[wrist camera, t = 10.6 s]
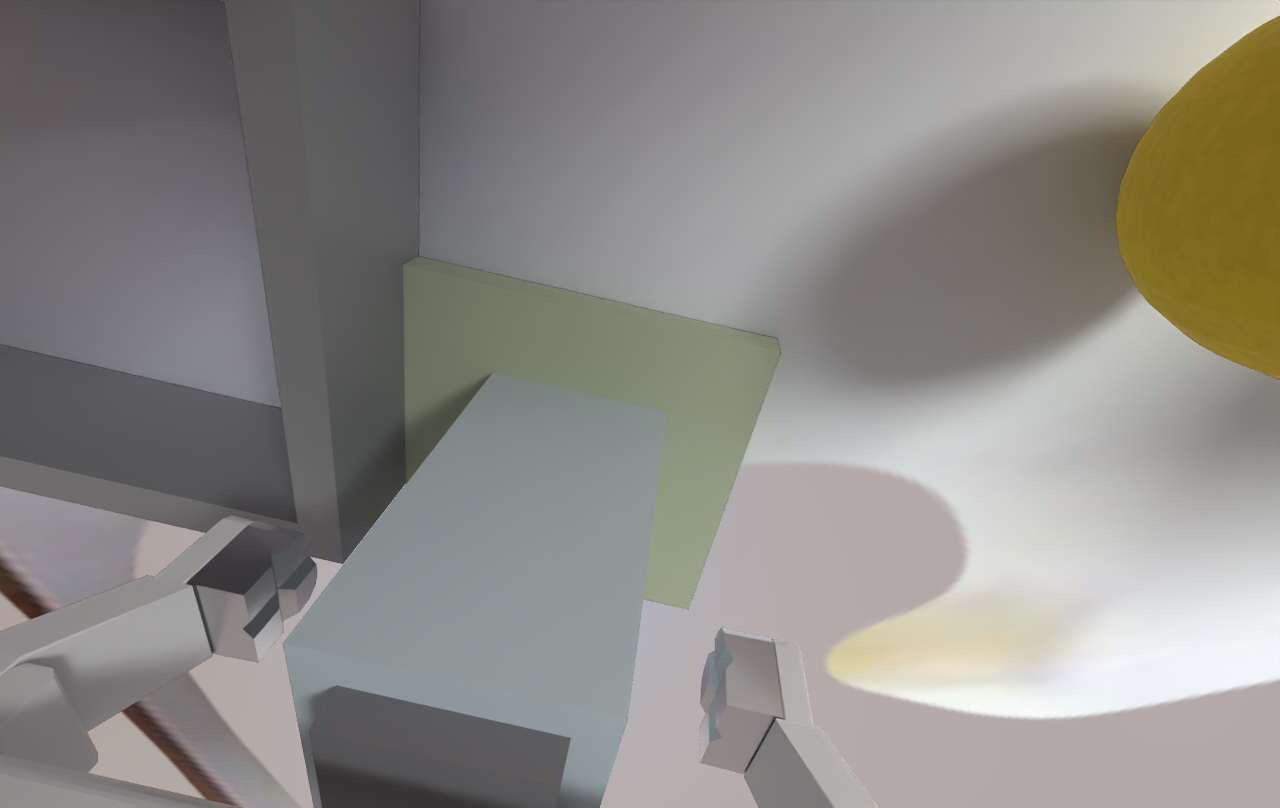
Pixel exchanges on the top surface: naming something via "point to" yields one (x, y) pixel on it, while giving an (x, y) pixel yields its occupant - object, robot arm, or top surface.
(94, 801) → the robot arm
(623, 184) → the top surface
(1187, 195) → the lemon
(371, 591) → the block
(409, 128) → the case
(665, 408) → the pad
